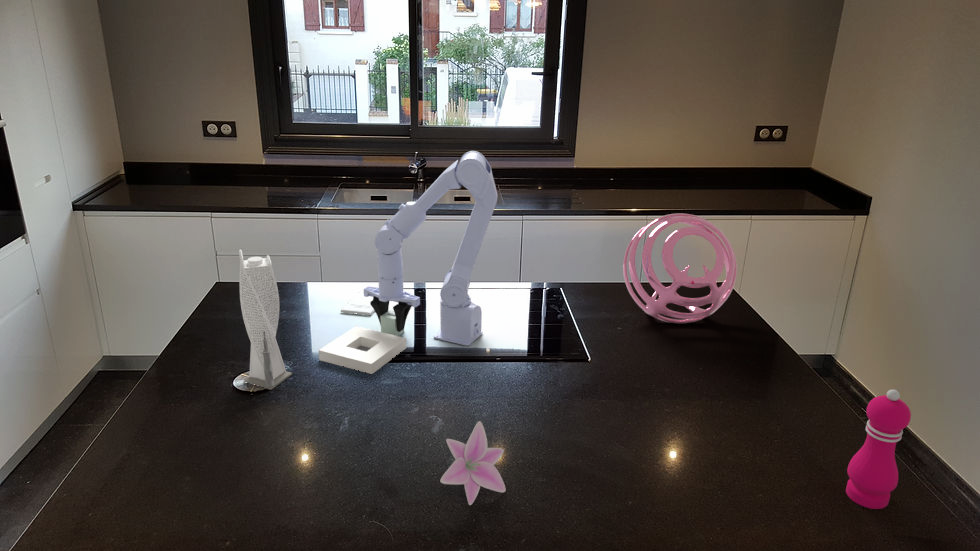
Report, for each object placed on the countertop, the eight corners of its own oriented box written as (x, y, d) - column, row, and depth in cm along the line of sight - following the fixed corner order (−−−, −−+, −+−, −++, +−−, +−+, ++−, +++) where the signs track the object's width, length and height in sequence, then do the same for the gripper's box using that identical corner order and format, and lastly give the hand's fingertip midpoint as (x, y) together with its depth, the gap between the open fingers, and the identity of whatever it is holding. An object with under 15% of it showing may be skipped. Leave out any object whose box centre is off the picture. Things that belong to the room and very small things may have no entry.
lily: (428, 511, 109) (449, 481, 103) (425, 447, 118) (445, 415, 112) (496, 519, 113) (521, 490, 107) (489, 456, 122) (512, 426, 116)
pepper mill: (833, 483, 116) (858, 379, 109) (874, 481, 117) (901, 377, 109) (858, 512, 109) (886, 403, 102) (901, 510, 110) (932, 401, 103)
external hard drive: (387, 299, 188) (370, 318, 176) (358, 297, 189) (340, 314, 178) (387, 294, 187) (370, 312, 176) (358, 291, 188) (340, 309, 177)
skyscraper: (238, 381, 144) (222, 254, 134) (263, 364, 151) (250, 243, 141) (271, 389, 141) (257, 261, 131) (295, 372, 148) (284, 248, 138)
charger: (404, 332, 168) (403, 312, 166) (395, 338, 164) (394, 318, 162) (390, 328, 169) (389, 309, 167) (381, 335, 166) (380, 315, 164)
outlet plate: (406, 347, 160) (406, 338, 159) (371, 374, 148) (371, 363, 147) (356, 335, 165) (356, 326, 164) (319, 360, 153) (318, 350, 152)
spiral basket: (627, 219, 193) (652, 184, 167) (723, 248, 192) (765, 218, 166) (601, 313, 187) (624, 293, 160) (701, 343, 186) (741, 328, 159)
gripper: (355, 275, 161) (357, 328, 166) (408, 286, 155) (409, 340, 160) (372, 266, 167) (374, 317, 172) (424, 276, 161) (425, 329, 166)
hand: (392, 328), depth 166 cm, fingers closed on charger, 4 cm apart
